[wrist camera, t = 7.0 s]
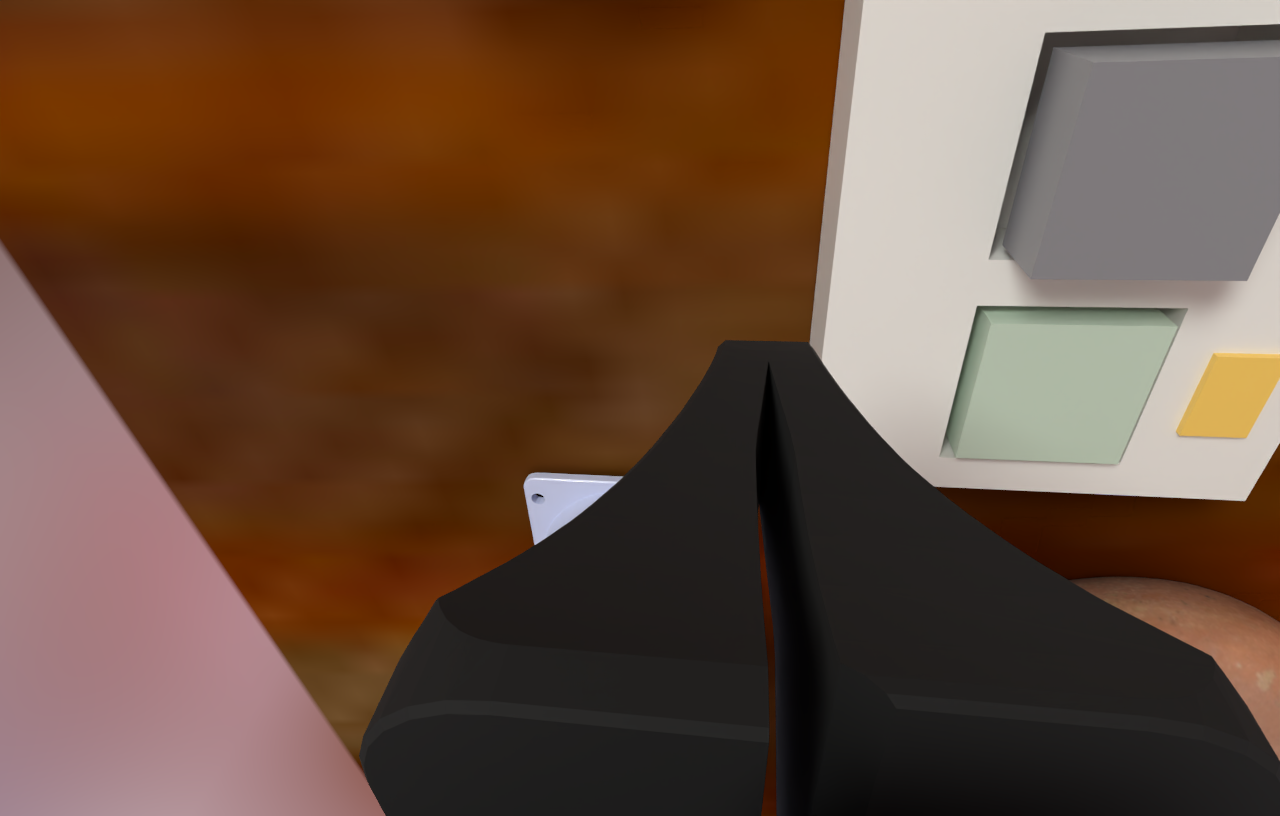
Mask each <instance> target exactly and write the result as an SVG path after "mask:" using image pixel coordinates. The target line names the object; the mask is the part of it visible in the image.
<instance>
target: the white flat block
mask: <svg viewBox="0 0 1280 816" xmlns="http://www.w3.org/2000/svg"><path fill="white" fill-rule="evenodd" d="M1261 40H1280V0H845V7H844V16H843V26H842V36H841V45H840V55H839V65H838V74H837V84H836V94H835V103H834V113H833V123H832V132H831V142H830V152H829V161H828V171H827V181H826V191H825V200H824V210H823V220H822V229H821V239H820V249H819V258H818V268H817V278H816V287H815V297H814V307H813V316H812V326H811V336H810V345H811V346H812V348H813V349H814V350H815V352H816V353H817V355H818V356H819V358H820V359H821V361H822V362H823V364H824V365H825V367H826V368H827V370H828V371H829V373H830V374H831V375H832V377H833V378H834V380H835V381H836V382H837V384H838V385H839V386H840V388H841V389H842V390H843V392H844V393H845V394H846V396H847V397H848V398H849V399H850V401H851V402H852V403H853V404H854V405H855V407H856V408H857V409H858V410H859V412H860V413H861V414H862V415H863V416H864V418H865V419H866V420H867V421H868V422H869V424H870V425H871V426H872V427H873V428H874V429H875V430H876V431H877V433H878V434H879V435H880V436H881V437H882V438H883V439H884V440H885V441H886V442H887V443H888V444H889V445H890V446H891V447H892V449H893V450H894V451H895V452H896V453H897V454H898V455H899V456H900V457H901V458H902V459H903V460H904V461H905V462H906V463H907V464H909V465H910V466H911V467H912V468H913V469H914V470H915V471H916V472H917V473H919V474H920V475H921V476H922V477H923V478H924V479H926V480H927V481H928V482H929V483H930V484H931V485H933V486H934V487H953V488H975V489H997V490H1018V491H1040V492H1062V493H1084V494H1106V495H1128V496H1150V497H1172V498H1194V499H1215V500H1237V501H1245V500H1246V499H1247V497H1248V495H1249V493H1250V492H1251V490H1252V488H1253V487H1254V485H1255V483H1256V482H1257V480H1258V478H1259V477H1260V475H1261V473H1262V472H1263V470H1264V468H1265V467H1266V465H1267V463H1268V461H1269V460H1270V458H1271V456H1272V455H1273V453H1274V451H1275V450H1276V448H1277V446H1278V445H1279V443H1280V214H1279V216H1278V218H1277V220H1276V222H1275V224H1274V226H1273V228H1272V230H1271V232H1270V234H1269V236H1268V238H1267V241H1266V243H1265V245H1264V247H1263V249H1262V251H1261V253H1260V255H1259V257H1258V259H1257V261H1256V263H1255V266H1254V268H1253V270H1252V272H1251V274H1250V276H1249V278H1248V280H1247V281H1183V280H1054V279H1030V278H1029V277H1028V276H1027V274H1026V273H1025V272H1024V271H1023V270H1022V268H1021V267H1020V266H1019V265H1018V263H1017V262H1016V261H1015V260H1014V259H1013V257H1012V256H1011V255H1010V254H1009V252H1008V251H1007V250H1006V249H1005V248H1004V246H1003V245H1002V244H1003V240H1004V236H1005V233H1006V229H1007V225H1008V221H1009V217H1010V213H1011V209H1012V205H1013V202H1014V198H1015V194H1016V190H1017V186H1018V182H1019V178H1020V174H1021V171H1022V167H1023V163H1024V159H1025V155H1026V151H1027V147H1028V143H1029V140H1030V136H1031V132H1032V128H1033V124H1034V120H1035V116H1036V112H1037V109H1038V105H1039V101H1040V97H1041V93H1042V89H1043V85H1044V81H1045V78H1046V74H1047V70H1048V66H1049V62H1050V58H1051V54H1052V51H1053V47H1082V46H1112V45H1142V44H1172V43H1202V42H1232V41H1261ZM977 306H1044V307H1123V308H1158V309H1159V310H1160V311H1161V312H1163V313H1164V314H1165V315H1166V316H1167V317H1168V318H1169V319H1170V320H1171V321H1172V322H1173V323H1175V324H1176V325H1177V326H1178V328H1177V330H1176V332H1175V335H1174V337H1173V339H1172V341H1171V344H1170V346H1169V348H1168V351H1167V353H1166V355H1165V357H1164V360H1163V362H1162V364H1161V367H1160V369H1159V371H1158V373H1157V376H1156V378H1155V380H1154V383H1153V385H1152V387H1151V389H1150V392H1149V394H1148V396H1147V399H1146V401H1145V403H1144V405H1143V408H1142V410H1141V412H1140V415H1139V417H1138V419H1137V421H1136V424H1135V426H1134V428H1133V431H1132V433H1131V435H1130V437H1129V440H1128V442H1127V444H1126V447H1125V449H1124V451H1123V453H1122V456H1121V458H1120V460H1119V463H1118V464H1097V463H1072V462H1047V461H1022V460H998V459H973V458H955V455H954V453H953V450H952V448H951V445H950V443H949V440H948V438H947V435H946V433H945V432H946V428H947V424H948V420H949V416H950V412H951V408H952V404H953V400H954V396H955V392H956V388H957V384H958V380H959V376H960V372H961V368H962V364H963V360H964V356H965V352H966V348H967V344H968V340H969V336H970V332H971V328H972V324H973V320H974V316H975V312H976V308H977Z"/></svg>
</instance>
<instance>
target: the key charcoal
mask: <svg viewBox="0 0 1280 816" xmlns="http://www.w3.org/2000/svg"><path fill="white" fill-rule="evenodd" d="M1279 214H1280V40H1261V41H1232V42H1202V43H1172V44H1142V45H1112V46H1082V47H1053V51H1052V54H1051V58H1050V62H1049V66H1048V70H1047V74H1046V78H1045V81H1044V85H1043V89H1042V93H1041V97H1040V101H1039V105H1038V109H1037V112H1036V116H1035V120H1034V124H1033V128H1032V132H1031V136H1030V140H1029V143H1028V147H1027V151H1026V155H1025V159H1024V163H1023V167H1022V171H1021V174H1020V178H1019V182H1018V186H1017V190H1016V194H1015V198H1014V202H1013V205H1012V209H1011V213H1010V217H1009V221H1008V225H1007V229H1006V233H1005V236H1004V240H1003V244H1002V245H1003V246H1004V248H1005V249H1006V250H1007V251H1008V252H1009V254H1010V255H1011V256H1012V257H1013V259H1014V260H1015V261H1016V262H1017V263H1018V265H1019V266H1020V267H1021V268H1022V270H1023V271H1024V272H1025V273H1026V274H1027V276H1028V277H1029V278H1030V279H1054V280H1183V281H1247V280H1248V278H1249V276H1250V274H1251V272H1252V270H1253V268H1254V266H1255V263H1256V261H1257V259H1258V257H1259V255H1260V253H1261V251H1262V249H1263V247H1264V245H1265V243H1266V241H1267V238H1268V236H1269V234H1270V232H1271V230H1272V228H1273V226H1274V224H1275V222H1276V220H1277V218H1278V216H1279Z"/></svg>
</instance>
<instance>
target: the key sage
mask: <svg viewBox="0 0 1280 816" xmlns="http://www.w3.org/2000/svg"><path fill="white" fill-rule="evenodd" d="M1177 328H1178V326H1177V325H1176V324H1175V323H1173V322H1172V321H1171V320H1170V319H1169V318H1168V317H1167V316H1166V315H1165V314H1164V313H1163V312H1161V311H1160V310H1159V309H1158V308H1123V307H1044V306H977V308H976V312H975V316H974V320H973V324H972V328H971V332H970V336H969V340H968V344H967V348H966V352H965V356H964V360H963V364H962V368H961V372H960V376H959V380H958V384H957V388H956V392H955V396H954V400H953V404H952V408H951V412H950V416H949V420H948V424H947V428H946V432H945V433H946V435H947V438H948V440H949V443H950V445H951V448H952V450H953V453H954V455H955V458H973V459H998V460H1022V461H1047V462H1072V463H1097V464H1118V463H1119V460H1120V458H1121V456H1122V453H1123V451H1124V449H1125V447H1126V444H1127V442H1128V440H1129V437H1130V435H1131V433H1132V431H1133V428H1134V426H1135V424H1136V421H1137V419H1138V417H1139V415H1140V412H1141V410H1142V408H1143V405H1144V403H1145V401H1146V399H1147V396H1148V394H1149V392H1150V389H1151V387H1152V385H1153V383H1154V380H1155V378H1156V376H1157V373H1158V371H1159V369H1160V367H1161V364H1162V362H1163V360H1164V357H1165V355H1166V353H1167V351H1168V348H1169V346H1170V344H1171V341H1172V339H1173V337H1174V335H1175V332H1176V330H1177Z"/></svg>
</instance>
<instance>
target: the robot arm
mask: <svg viewBox="0 0 1280 816" xmlns="http://www.w3.org/2000/svg"><path fill="white" fill-rule="evenodd" d="M524 491H525V496H526V501H527V507H528V512H529V518H530V523H531V528H532V534H533V539H534V544H535V545H534V546H533V547H531V548H530V549H528V550H527V551H525V552H523V553H522V554H520V555H518V556H517V557H515V558H513V559H512V560H510V561H508V562H506V563H504V564H503V565H501V566H499V567H497V568H495V569H493V570H491V571H490V572H488V573H486V574H484V575H482V576H480V577H478V578H476V579H475V580H473V581H471V582H469V583H467V584H465V585H463V586H462V587H460V588H458V589H456V590H454V591H452V592H450V593H448V594H446V595H444V596H442V597H440V598H438V599H437V600H436V601H435V603H434V605H433V606H432V608H431V610H430V611H429V613H428V615H427V616H426V618H425V619H424V621H423V623H422V624H421V626H420V627H419V629H418V630H417V632H416V633H415V635H414V636H413V638H412V640H411V641H410V643H409V645H408V646H407V648H406V650H405V652H404V653H403V655H402V657H401V658H400V660H399V662H398V664H397V666H396V668H395V671H394V673H393V675H392V677H391V679H390V681H389V683H388V685H387V687H386V690H385V692H384V694H383V696H382V698H381V700H380V702H379V704H378V706H377V709H376V711H375V713H374V715H373V717H372V719H371V721H370V723H369V725H368V728H367V730H366V732H365V734H364V736H363V741H362V745H361V750H360V755H359V757H360V760H361V764H362V767H363V770H364V773H365V776H366V779H367V781H368V783H369V786H370V788H371V790H372V791H373V793H374V795H375V797H376V799H377V800H378V802H379V804H380V806H381V808H382V810H383V811H384V813H385V815H386V816H761V812H762V803H763V793H764V784H765V775H766V765H767V756H768V747H769V690H768V661H767V650H766V639H765V627H764V614H763V600H762V587H761V571H760V554H759V536H758V507H759V506H760V516H761V525H762V534H763V542H764V551H765V560H766V569H767V577H768V586H769V595H770V604H771V612H772V621H773V633H774V647H775V693H776V793H777V816H1280V760H1279V759H1278V757H1277V755H1276V753H1275V752H1274V750H1273V748H1272V747H1271V745H1270V743H1269V742H1268V740H1267V738H1266V737H1265V735H1264V733H1263V731H1262V730H1261V728H1260V726H1259V725H1258V723H1257V721H1256V720H1255V718H1254V716H1253V715H1252V713H1251V711H1250V710H1249V708H1248V706H1247V705H1246V703H1245V702H1244V700H1243V699H1242V698H1241V696H1240V695H1239V693H1238V692H1237V690H1236V689H1235V688H1234V686H1233V685H1232V683H1231V682H1230V681H1229V679H1228V678H1227V676H1226V675H1225V673H1224V672H1223V671H1222V669H1221V668H1220V667H1219V665H1218V664H1217V663H1216V661H1215V660H1214V658H1213V657H1212V656H1211V655H1209V654H1207V653H1205V652H1203V651H1201V650H1199V649H1197V648H1195V647H1193V646H1191V645H1189V644H1187V643H1185V642H1183V641H1181V640H1179V639H1177V638H1176V637H1174V636H1172V635H1170V634H1168V633H1166V632H1164V631H1162V630H1160V629H1158V628H1156V627H1154V626H1152V625H1150V624H1148V623H1146V622H1144V621H1142V620H1140V619H1138V618H1136V617H1134V616H1133V615H1131V614H1129V613H1127V612H1125V611H1123V610H1121V609H1119V608H1117V607H1115V606H1113V605H1111V604H1109V603H1107V602H1105V601H1104V600H1102V599H1100V598H1098V597H1096V596H1095V595H1093V594H1091V593H1089V592H1088V591H1086V590H1084V589H1083V588H1081V587H1079V586H1078V585H1076V584H1074V583H1073V582H1071V581H1069V580H1067V579H1066V578H1064V577H1062V576H1061V575H1059V574H1057V573H1056V572H1054V571H1052V570H1051V569H1049V568H1047V567H1046V566H1044V565H1042V564H1041V563H1039V562H1038V561H1036V560H1034V559H1033V558H1031V557H1030V556H1028V555H1027V554H1025V553H1024V552H1022V551H1020V550H1019V549H1017V548H1016V547H1014V546H1013V545H1011V544H1010V543H1008V542H1007V541H1005V540H1004V539H1002V538H1001V537H1000V536H998V535H997V534H995V533H994V532H993V531H991V530H990V529H988V528H987V527H986V526H984V525H983V524H981V523H980V522H979V521H977V520H976V519H974V518H973V517H972V516H970V515H969V514H967V513H966V512H965V511H963V510H962V509H961V508H960V507H958V506H957V505H956V504H954V503H953V502H952V501H951V500H949V499H948V498H947V497H945V496H944V495H943V494H942V493H941V492H940V491H938V490H937V489H936V488H935V487H934V486H933V485H931V484H930V483H929V482H928V481H927V480H926V479H924V478H923V477H922V476H921V475H920V474H919V473H917V472H916V471H915V470H914V469H913V468H912V467H911V466H910V465H909V464H907V463H906V462H905V461H904V460H903V459H902V458H901V457H900V456H899V455H898V454H897V453H896V452H895V451H894V450H893V449H892V447H891V446H890V445H889V444H888V443H887V442H886V441H885V440H884V439H883V438H882V437H881V436H880V435H879V434H878V433H877V431H876V430H875V429H874V428H873V427H872V426H871V425H870V424H869V422H868V421H867V420H866V419H865V418H864V416H863V415H862V414H861V413H860V412H859V410H858V409H857V408H856V407H855V405H854V404H853V403H852V402H851V401H850V399H849V398H848V397H847V396H846V394H845V393H844V392H843V390H842V389H841V388H840V386H839V385H838V384H837V382H836V381H835V380H834V378H833V377H832V375H831V374H830V373H829V371H828V370H827V368H826V367H825V365H824V364H823V362H822V361H821V359H820V358H819V356H818V355H817V353H816V352H815V350H814V349H813V348H812V346H811V345H810V344H809V343H808V342H777V341H732V340H726V341H725V342H723V343H722V344H721V345H720V346H719V347H718V349H717V352H716V355H715V357H714V359H713V361H712V363H711V365H710V367H709V369H708V371H707V373H706V374H705V376H704V378H703V379H702V381H701V383H700V384H699V386H698V387H697V389H696V390H695V392H694V393H693V395H692V396H691V398H690V399H689V401H688V402H687V404H686V405H685V407H684V408H683V409H682V411H681V412H680V414H679V415H678V416H677V417H676V419H675V420H674V421H673V422H672V424H671V425H670V426H669V427H668V429H667V430H666V431H665V432H664V433H663V435H662V436H661V437H660V438H659V440H658V441H657V442H656V443H655V444H654V446H653V447H652V448H651V449H650V450H649V451H648V452H647V453H646V454H645V455H644V456H643V458H642V459H641V460H640V461H639V462H638V463H637V464H636V465H635V466H634V467H633V468H632V469H631V470H630V471H629V472H628V473H627V474H626V475H625V476H623V477H622V476H600V475H579V474H557V473H531V474H530V475H528V476H527V478H526V480H525V483H524ZM536 494H541V495H542V496H544V497H539V496H537V495H536Z"/></svg>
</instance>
